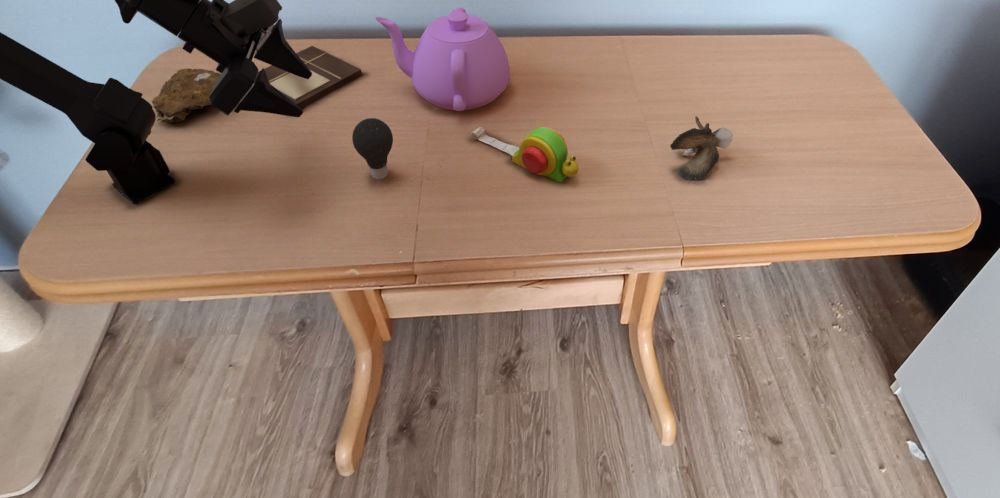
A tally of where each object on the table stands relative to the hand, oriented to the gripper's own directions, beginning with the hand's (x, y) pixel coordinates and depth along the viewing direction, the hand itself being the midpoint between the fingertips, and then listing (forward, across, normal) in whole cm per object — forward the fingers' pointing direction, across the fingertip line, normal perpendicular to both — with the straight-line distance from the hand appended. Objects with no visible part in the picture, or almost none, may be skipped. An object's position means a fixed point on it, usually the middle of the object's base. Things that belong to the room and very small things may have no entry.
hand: (306, 94), depth 78 cm
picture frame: (+5, +27, +15) cm, 31 cm away
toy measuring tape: (+31, +1, -12) cm, 33 cm away
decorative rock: (-8, +21, +28) cm, 36 cm away
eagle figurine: (+49, -2, -31) cm, 58 cm away
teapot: (+23, +21, -4) cm, 32 cm away
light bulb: (+16, -2, +4) cm, 16 cm away
